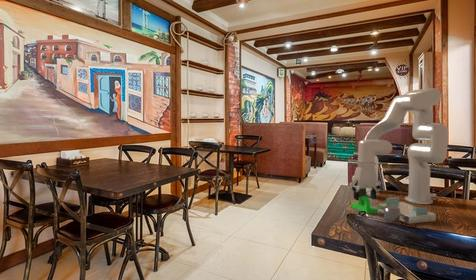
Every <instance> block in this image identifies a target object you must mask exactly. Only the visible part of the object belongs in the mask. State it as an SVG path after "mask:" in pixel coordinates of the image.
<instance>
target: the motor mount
mask: <svg viewBox="0 0 476 280" xmlns="http://www.w3.org/2000/svg"><path fill="white" fill-rule="evenodd" d="M428 210H429V208H428V207H427V206H419V207H417V206H415V205H412V204H409V203H407V202H403V201H400V197H397V196H395V197H393V196H392V197H386V199H385V203H378V208H377V211H380V212H382V213H383V221H384V220H386V221H391V222H398V223H399V224H400V221H402V222H404V223H406V224H409V225H410V224H418V223H426V222H427V223H429V222H436V221H437V220H436V218H437V216H436V215H437V214H436V213H434V212H432V211H428Z"/></svg>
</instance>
